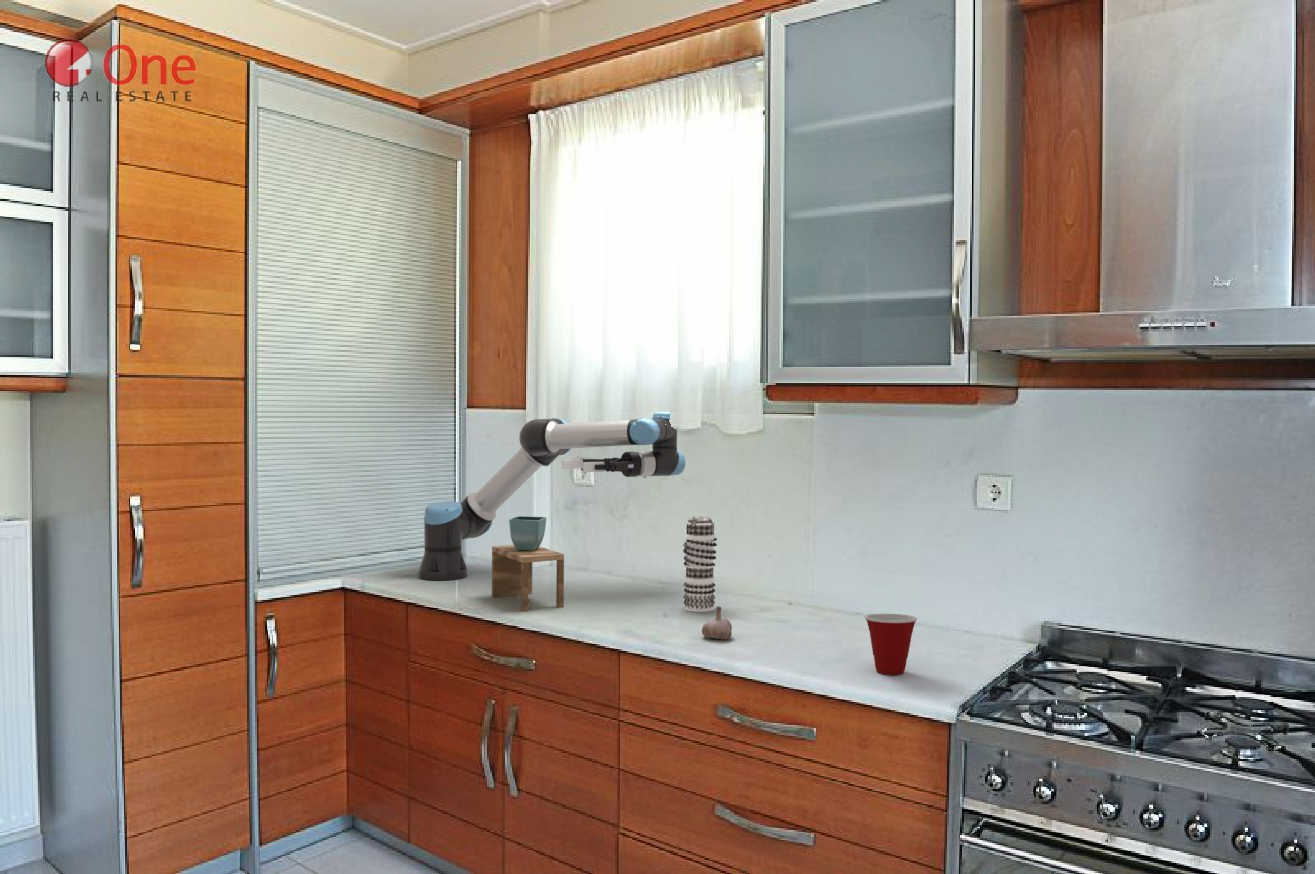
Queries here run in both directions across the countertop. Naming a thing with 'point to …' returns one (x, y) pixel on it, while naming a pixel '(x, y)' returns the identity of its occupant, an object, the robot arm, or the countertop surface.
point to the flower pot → (527, 532)
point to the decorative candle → (699, 565)
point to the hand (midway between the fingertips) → (572, 465)
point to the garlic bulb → (717, 627)
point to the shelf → (522, 572)
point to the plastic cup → (890, 641)
